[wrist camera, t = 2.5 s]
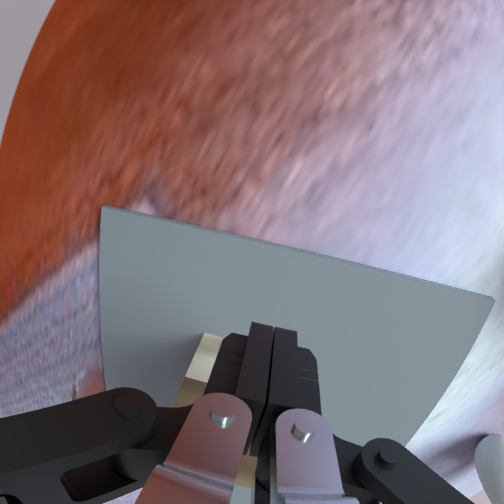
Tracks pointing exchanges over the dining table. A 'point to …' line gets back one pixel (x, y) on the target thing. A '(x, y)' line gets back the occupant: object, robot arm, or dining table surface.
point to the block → (195, 388)
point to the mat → (280, 320)
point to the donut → (491, 466)
